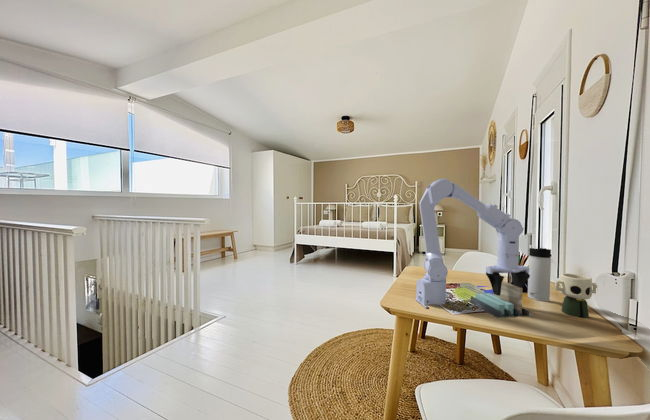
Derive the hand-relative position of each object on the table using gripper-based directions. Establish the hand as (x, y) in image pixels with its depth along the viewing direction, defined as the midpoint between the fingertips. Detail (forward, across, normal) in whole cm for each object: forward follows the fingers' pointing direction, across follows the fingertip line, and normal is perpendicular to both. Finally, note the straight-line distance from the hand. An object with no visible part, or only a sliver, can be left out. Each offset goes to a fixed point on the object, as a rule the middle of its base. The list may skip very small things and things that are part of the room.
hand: (506, 294), depth 86 cm
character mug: (+6, +18, -7) cm, 20 cm away
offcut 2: (+4, -3, 0) cm, 5 cm away
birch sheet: (+4, 0, 0) cm, 4 cm away
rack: (+5, -3, 0) cm, 6 cm away
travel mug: (+6, +19, +6) cm, 21 cm away
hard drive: (+6, +8, +15) cm, 18 cm away
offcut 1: (+4, -6, 0) cm, 8 cm away
